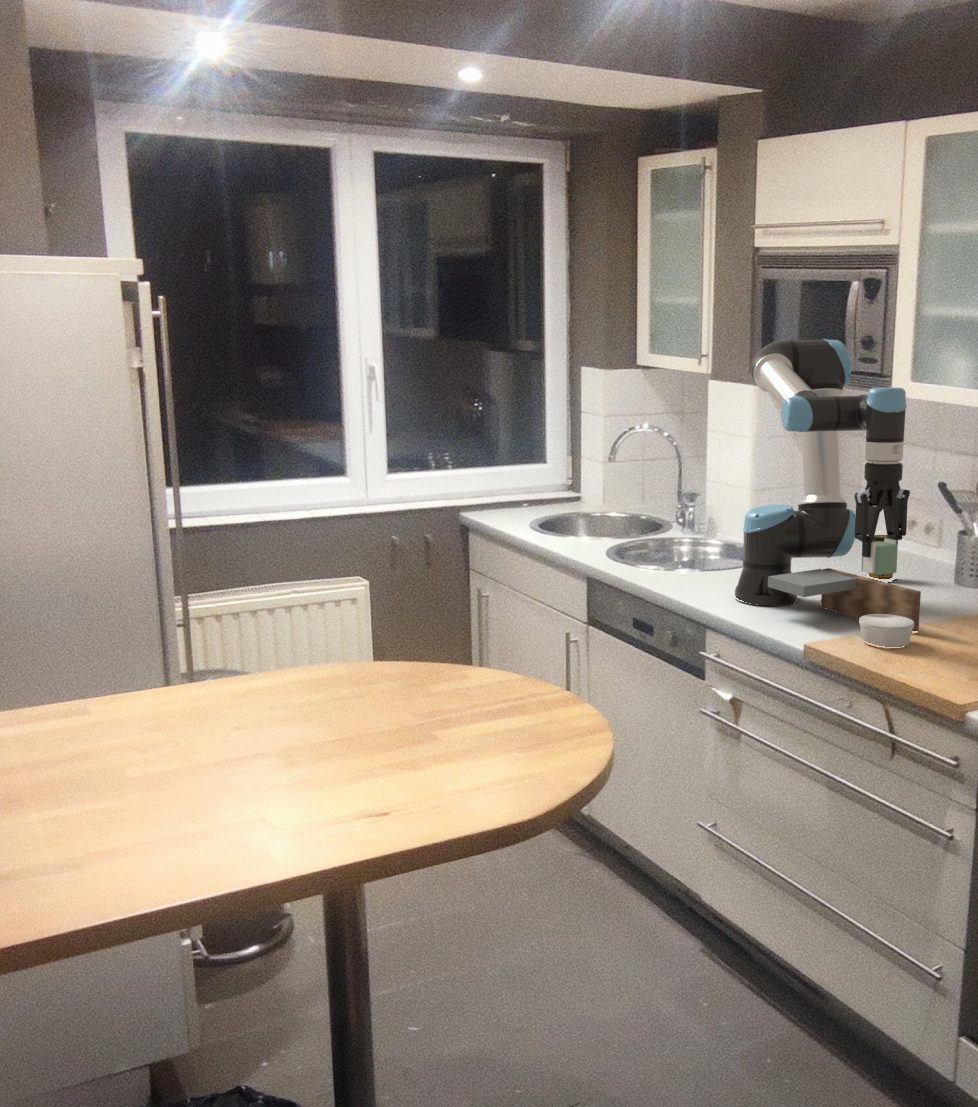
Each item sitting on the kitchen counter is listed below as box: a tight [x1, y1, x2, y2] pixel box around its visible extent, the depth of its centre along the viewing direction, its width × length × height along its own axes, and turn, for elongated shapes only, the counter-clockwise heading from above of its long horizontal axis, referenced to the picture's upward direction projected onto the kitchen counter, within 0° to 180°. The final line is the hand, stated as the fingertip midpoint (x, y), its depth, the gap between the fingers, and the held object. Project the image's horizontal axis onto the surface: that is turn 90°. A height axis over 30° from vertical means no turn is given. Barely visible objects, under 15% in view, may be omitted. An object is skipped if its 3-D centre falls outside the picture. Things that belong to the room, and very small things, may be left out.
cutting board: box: [820, 567, 922, 632], centre depth 256 cm, size 28×2×10 cm, turn 27°
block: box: [860, 542, 899, 575], centre depth 236 cm, size 5×5×6 cm
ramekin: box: [858, 614, 914, 647], centre depth 237 cm, size 11×11×5 cm
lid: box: [768, 568, 857, 598], centre depth 258 cm, size 12×16×2 cm
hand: (878, 570), depth 236 cm, fingers closed on block, 5 cm apart
